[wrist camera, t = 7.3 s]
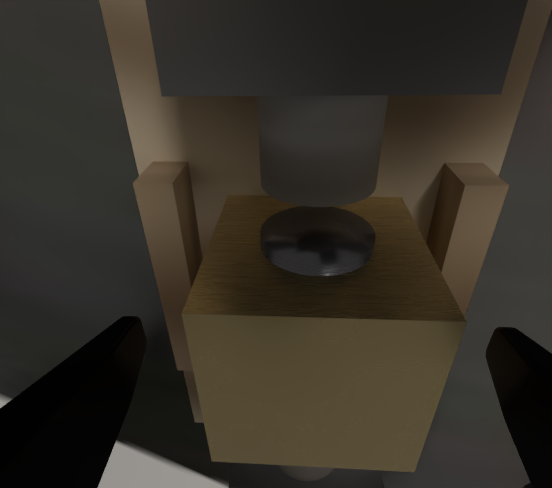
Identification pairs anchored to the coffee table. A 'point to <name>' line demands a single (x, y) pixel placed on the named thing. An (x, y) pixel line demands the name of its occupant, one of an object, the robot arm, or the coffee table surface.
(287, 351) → the block
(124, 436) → the coffee table surface
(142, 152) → the shaft stand
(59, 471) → the robot arm
